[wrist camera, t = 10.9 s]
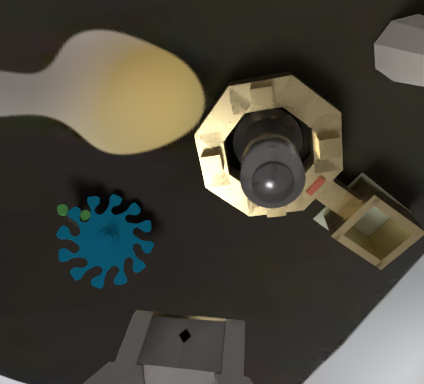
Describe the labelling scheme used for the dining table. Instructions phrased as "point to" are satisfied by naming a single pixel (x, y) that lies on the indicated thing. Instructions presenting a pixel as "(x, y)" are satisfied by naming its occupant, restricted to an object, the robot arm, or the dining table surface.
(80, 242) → the gear
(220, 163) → the octagonal ring with loop
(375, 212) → the pad
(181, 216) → the dining table surface
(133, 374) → the robot arm
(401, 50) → the salt shaker
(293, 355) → the dining table surface
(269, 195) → the stud
